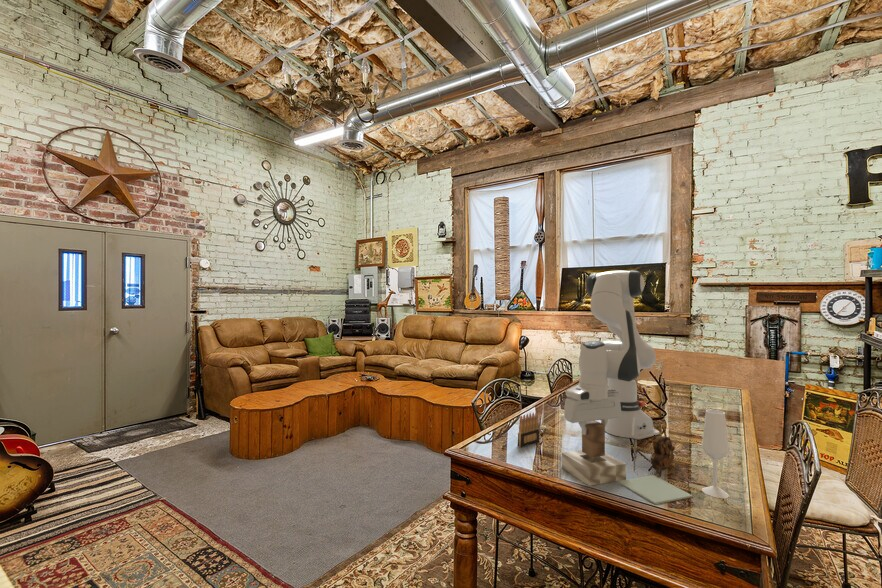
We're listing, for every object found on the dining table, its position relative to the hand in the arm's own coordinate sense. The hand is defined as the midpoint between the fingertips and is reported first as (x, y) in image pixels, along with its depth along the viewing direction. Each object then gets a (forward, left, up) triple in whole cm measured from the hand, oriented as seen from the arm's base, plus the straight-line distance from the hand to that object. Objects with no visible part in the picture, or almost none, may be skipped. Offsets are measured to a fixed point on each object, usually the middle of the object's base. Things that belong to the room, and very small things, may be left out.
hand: (593, 433), depth 133 cm
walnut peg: (0, 0, -7) cm, 7 cm away
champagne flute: (-26, +22, -13) cm, 37 cm away
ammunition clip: (+6, -30, -13) cm, 33 cm away
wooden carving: (-27, +3, -13) cm, 30 cm away
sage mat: (-10, +15, -13) cm, 22 cm away
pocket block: (0, 0, -13) cm, 13 cm away
